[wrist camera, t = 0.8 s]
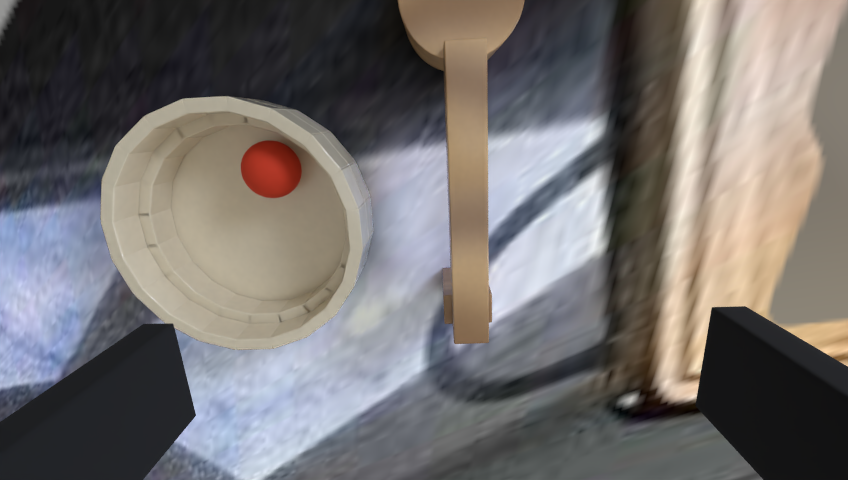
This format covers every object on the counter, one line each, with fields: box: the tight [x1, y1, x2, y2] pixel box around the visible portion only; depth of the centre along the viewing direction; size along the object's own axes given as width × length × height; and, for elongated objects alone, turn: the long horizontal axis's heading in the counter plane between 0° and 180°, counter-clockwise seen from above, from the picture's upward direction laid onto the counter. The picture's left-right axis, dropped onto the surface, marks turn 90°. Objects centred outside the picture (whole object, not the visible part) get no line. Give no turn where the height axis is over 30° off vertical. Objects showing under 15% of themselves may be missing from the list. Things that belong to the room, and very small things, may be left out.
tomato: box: [241, 140, 302, 198], centre depth 25 cm, size 4×4×4 cm
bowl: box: [100, 96, 373, 350], centre depth 26 cm, size 16×16×5 cm
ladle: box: [398, 0, 525, 344], centre depth 23 cm, size 22×6×7 cm, turn 3°
